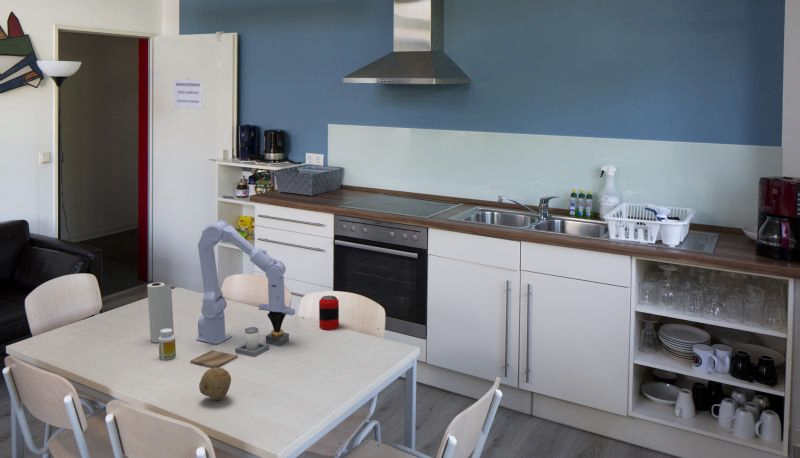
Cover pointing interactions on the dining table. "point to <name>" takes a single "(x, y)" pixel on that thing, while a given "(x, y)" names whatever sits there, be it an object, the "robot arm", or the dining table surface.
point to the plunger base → (277, 339)
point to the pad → (213, 359)
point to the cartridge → (251, 338)
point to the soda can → (329, 313)
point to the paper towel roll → (159, 309)
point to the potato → (215, 383)
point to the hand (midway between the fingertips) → (277, 331)
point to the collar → (243, 350)
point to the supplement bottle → (167, 344)
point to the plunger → (277, 333)
